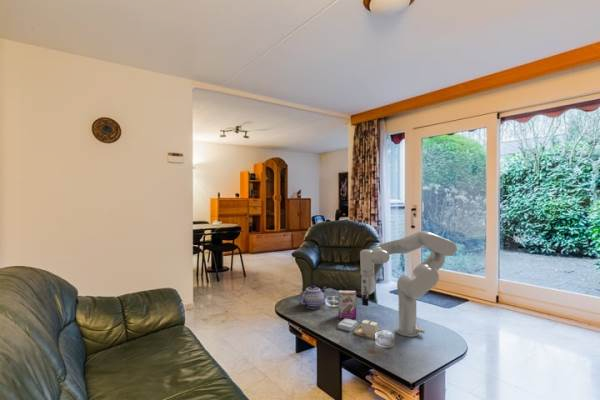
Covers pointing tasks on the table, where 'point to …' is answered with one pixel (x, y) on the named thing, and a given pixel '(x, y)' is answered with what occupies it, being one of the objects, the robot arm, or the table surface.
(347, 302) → the candy bar box
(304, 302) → the teapot
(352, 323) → the striped square panel
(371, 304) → the table surface
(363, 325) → the stub
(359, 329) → the tray
